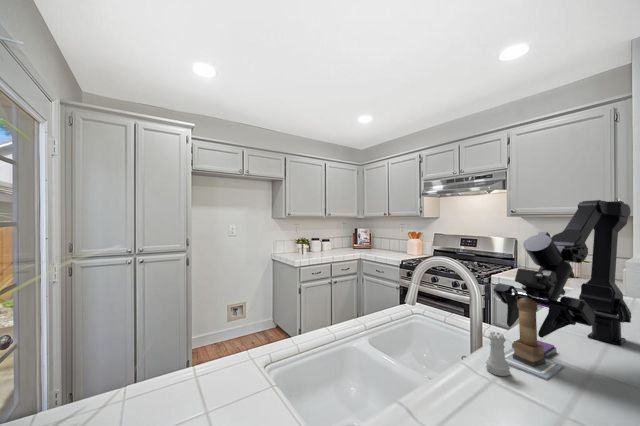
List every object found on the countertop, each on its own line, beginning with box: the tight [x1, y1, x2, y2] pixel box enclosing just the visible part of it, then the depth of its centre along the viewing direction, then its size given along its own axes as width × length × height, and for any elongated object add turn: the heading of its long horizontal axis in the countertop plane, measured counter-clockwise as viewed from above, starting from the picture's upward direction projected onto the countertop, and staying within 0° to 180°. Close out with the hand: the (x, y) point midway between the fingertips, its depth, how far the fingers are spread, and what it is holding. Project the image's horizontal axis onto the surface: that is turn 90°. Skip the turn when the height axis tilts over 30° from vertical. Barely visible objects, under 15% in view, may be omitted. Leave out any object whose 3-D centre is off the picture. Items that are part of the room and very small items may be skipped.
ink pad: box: [511, 338, 558, 360], centre depth 69 cm, size 7×7×2 cm
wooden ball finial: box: [513, 297, 546, 367], centre depth 62 cm, size 4×4×14 cm
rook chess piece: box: [485, 331, 511, 377], centre depth 59 cm, size 4×4×8 cm
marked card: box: [504, 347, 565, 381], centre depth 62 cm, size 10×10×1 cm
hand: (523, 330), depth 62 cm, fingers open, 6 cm apart
